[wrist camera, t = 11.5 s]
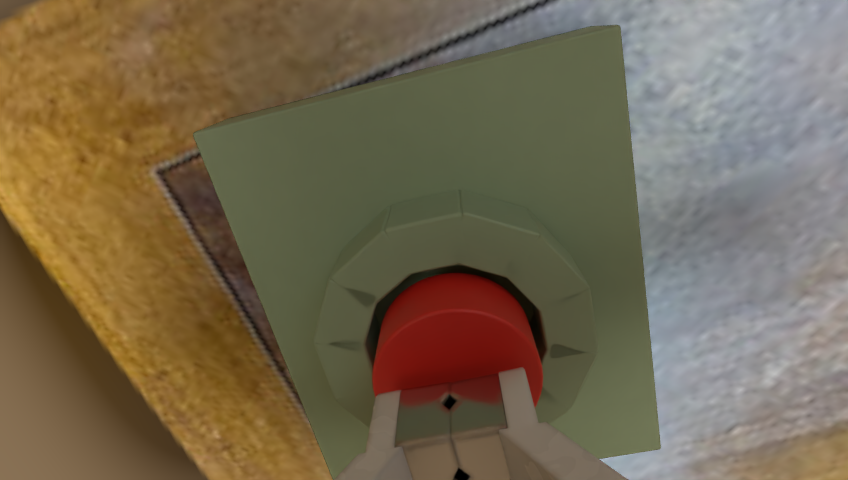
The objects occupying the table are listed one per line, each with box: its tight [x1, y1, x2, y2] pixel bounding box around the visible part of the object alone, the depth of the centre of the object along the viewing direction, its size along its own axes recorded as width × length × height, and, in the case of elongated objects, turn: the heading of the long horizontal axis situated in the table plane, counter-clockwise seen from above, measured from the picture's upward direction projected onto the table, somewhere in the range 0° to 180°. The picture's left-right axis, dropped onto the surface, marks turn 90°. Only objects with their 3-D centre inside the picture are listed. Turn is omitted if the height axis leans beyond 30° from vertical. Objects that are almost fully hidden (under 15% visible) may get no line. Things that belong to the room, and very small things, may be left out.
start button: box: [372, 273, 543, 407], centre depth 12 cm, size 4×4×2 cm
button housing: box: [193, 25, 661, 480], centre depth 14 cm, size 12×10×4 cm
